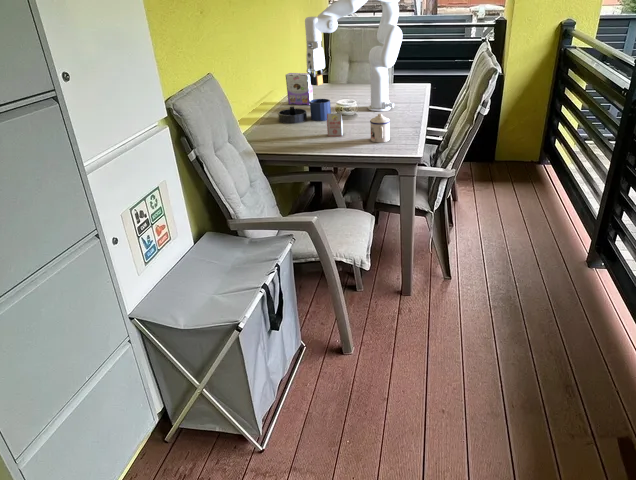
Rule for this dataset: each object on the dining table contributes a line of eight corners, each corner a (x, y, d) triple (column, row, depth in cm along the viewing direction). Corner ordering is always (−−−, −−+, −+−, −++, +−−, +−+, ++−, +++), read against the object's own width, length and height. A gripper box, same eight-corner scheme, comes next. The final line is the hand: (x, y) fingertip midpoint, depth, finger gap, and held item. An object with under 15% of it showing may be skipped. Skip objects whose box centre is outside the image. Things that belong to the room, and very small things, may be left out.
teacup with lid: (369, 137, 249) (369, 111, 242) (388, 136, 249) (389, 111, 243) (371, 145, 239) (371, 118, 232) (391, 144, 239) (392, 117, 233)
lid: (307, 117, 282) (307, 105, 278) (295, 122, 273) (294, 110, 270) (290, 115, 287) (289, 103, 283) (277, 120, 279) (276, 108, 275)
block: (322, 84, 274) (322, 74, 271) (317, 85, 270) (317, 76, 268) (315, 83, 276) (315, 74, 273) (310, 84, 273) (310, 75, 270)
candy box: (313, 103, 311) (311, 73, 302) (309, 105, 306) (307, 74, 298) (292, 102, 315) (289, 72, 306) (287, 104, 310) (285, 74, 302)
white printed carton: (328, 134, 256) (327, 112, 250) (342, 134, 255) (341, 112, 250) (327, 136, 253) (326, 114, 247) (341, 136, 252) (340, 114, 247)
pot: (334, 117, 282) (333, 99, 278) (323, 121, 275) (322, 104, 270) (318, 115, 287) (317, 97, 282) (307, 119, 280) (305, 102, 275)
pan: (312, 118, 282) (311, 110, 280) (295, 124, 272) (295, 116, 270) (290, 115, 289) (289, 107, 287) (273, 121, 278) (272, 113, 276)
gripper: (310, 47, 255) (313, 87, 265) (330, 43, 267) (332, 81, 277) (297, 47, 259) (301, 86, 269) (317, 42, 271) (320, 80, 281)
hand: (316, 83), depth 273 cm, fingers closed on block, 4 cm apart
